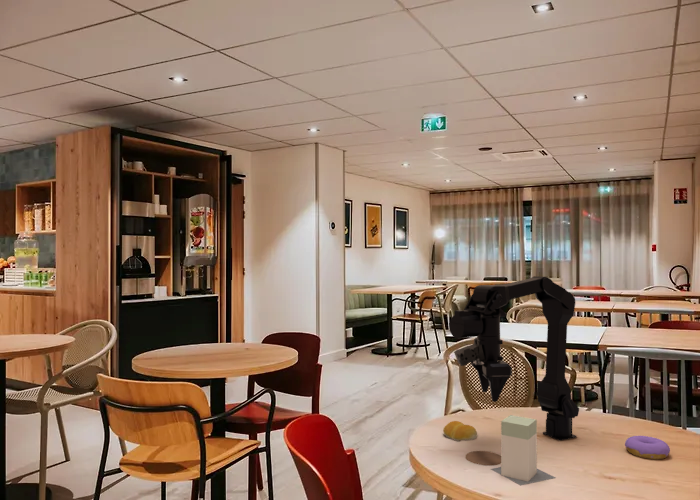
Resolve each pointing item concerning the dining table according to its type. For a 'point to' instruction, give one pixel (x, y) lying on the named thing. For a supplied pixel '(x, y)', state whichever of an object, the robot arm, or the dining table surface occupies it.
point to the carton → (519, 447)
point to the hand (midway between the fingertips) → (489, 396)
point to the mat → (536, 478)
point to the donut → (647, 447)
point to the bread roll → (459, 431)
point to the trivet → (484, 458)
